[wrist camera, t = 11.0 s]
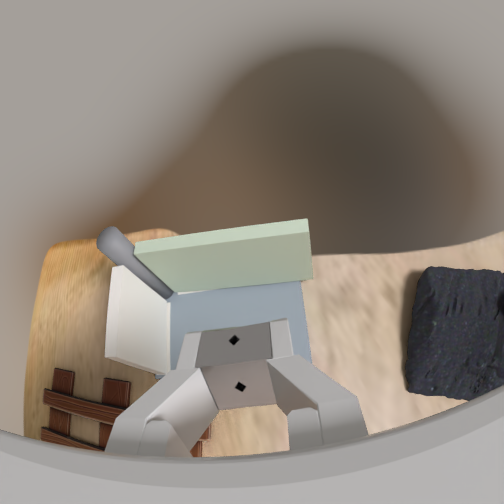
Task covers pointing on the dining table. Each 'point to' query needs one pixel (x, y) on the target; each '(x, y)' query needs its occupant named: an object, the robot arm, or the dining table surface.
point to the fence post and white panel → (134, 307)
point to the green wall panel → (231, 256)
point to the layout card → (235, 314)
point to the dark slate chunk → (457, 333)
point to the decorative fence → (90, 411)
